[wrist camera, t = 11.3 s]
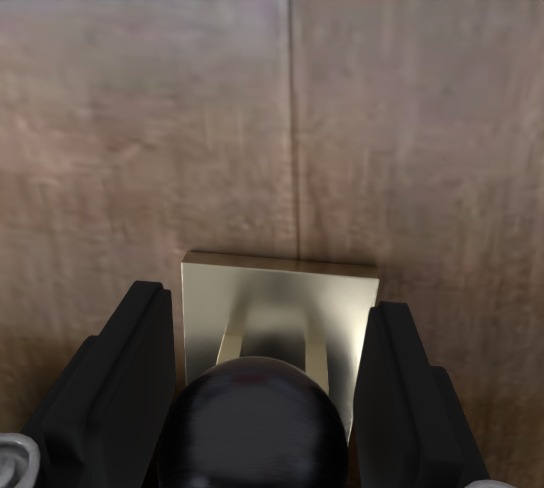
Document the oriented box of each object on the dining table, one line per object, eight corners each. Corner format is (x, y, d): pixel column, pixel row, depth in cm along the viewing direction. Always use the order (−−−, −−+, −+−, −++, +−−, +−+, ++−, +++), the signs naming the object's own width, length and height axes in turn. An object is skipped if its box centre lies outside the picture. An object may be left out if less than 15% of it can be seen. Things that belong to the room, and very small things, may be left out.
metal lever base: (186, 250, 21) (69, 473, 11) (376, 266, 21) (447, 511, 10) (192, 429, 27) (117, 695, 16) (344, 443, 26) (369, 725, 16)
